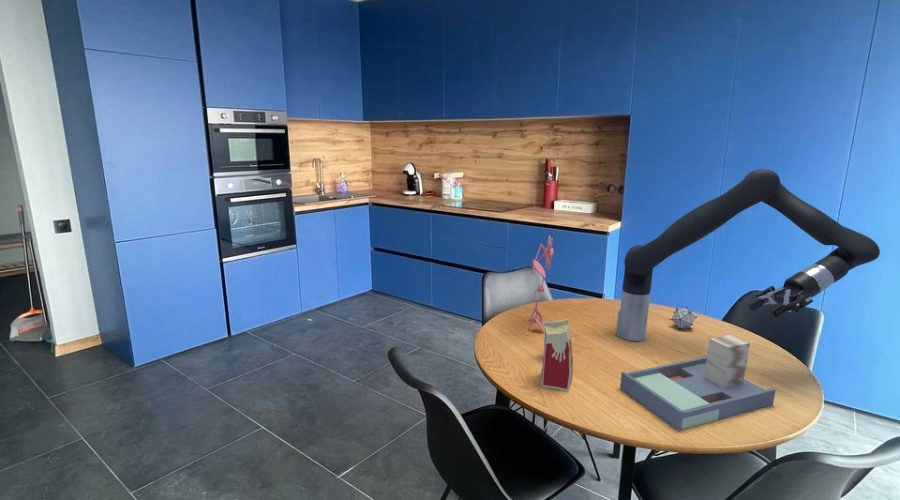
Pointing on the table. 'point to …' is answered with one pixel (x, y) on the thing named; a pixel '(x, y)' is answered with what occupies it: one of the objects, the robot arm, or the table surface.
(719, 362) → the off-white block
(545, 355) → the milk carton
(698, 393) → the box
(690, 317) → the game die
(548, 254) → the figurine
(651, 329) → the table surface
